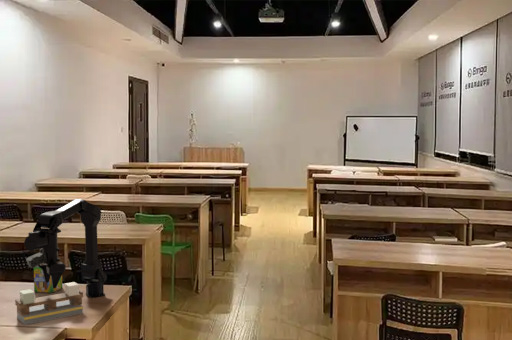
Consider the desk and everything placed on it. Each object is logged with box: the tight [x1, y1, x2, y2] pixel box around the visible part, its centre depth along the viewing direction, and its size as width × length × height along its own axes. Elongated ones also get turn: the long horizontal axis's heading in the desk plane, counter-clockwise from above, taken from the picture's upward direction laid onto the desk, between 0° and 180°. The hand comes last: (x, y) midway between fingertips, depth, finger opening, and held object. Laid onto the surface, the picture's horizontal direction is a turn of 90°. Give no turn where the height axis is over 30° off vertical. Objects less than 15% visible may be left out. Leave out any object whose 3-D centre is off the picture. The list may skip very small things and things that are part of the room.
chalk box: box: [33, 266, 63, 294], centre depth 248 cm, size 9×9×15 cm
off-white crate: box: [63, 281, 80, 296], centre depth 219 cm, size 4×5×4 cm
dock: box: [16, 300, 84, 326], centre depth 215 cm, size 22×10×3 cm, turn 128°
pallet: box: [14, 289, 84, 316], centre depth 214 cm, size 24×6×5 cm, turn 128°
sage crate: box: [19, 288, 36, 305], centre depth 209 cm, size 4×5×4 cm
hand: (50, 285), depth 215 cm, fingers open, 9 cm apart
